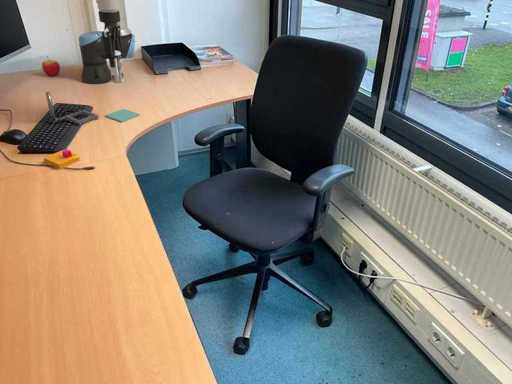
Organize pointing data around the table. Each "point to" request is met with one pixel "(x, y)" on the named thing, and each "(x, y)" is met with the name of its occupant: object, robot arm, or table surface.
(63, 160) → the orange flat block
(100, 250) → the table surface
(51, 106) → the square frame with rod
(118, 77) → the beer can
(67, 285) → the table surface
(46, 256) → the table surface
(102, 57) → the robot arm
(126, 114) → the coaster
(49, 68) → the apple
